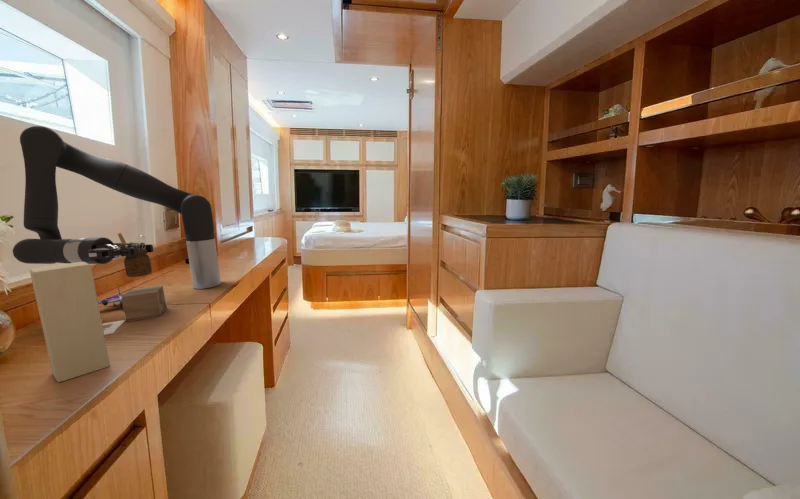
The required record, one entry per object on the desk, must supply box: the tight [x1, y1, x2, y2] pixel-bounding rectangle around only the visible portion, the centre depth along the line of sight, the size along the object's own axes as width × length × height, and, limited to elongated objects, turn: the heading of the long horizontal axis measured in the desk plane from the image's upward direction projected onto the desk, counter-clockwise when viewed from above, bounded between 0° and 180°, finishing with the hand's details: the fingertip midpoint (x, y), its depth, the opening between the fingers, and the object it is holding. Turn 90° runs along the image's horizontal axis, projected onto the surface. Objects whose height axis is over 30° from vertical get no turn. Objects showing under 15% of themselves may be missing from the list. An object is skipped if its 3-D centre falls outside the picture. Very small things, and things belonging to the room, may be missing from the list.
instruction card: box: [102, 319, 126, 336], centre depth 92 cm, size 10×7×1 cm
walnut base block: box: [122, 285, 168, 323], centre depth 102 cm, size 8×8×7 cm
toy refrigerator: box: [29, 262, 111, 383], centre depth 69 cm, size 8×7×21 cm
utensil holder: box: [117, 232, 153, 278], centre depth 99 cm, size 6×6×12 cm
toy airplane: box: [98, 287, 126, 310], centre depth 111 cm, size 13×14×4 cm
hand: (143, 250), depth 99 cm, fingers closed on utensil holder, 5 cm apart
